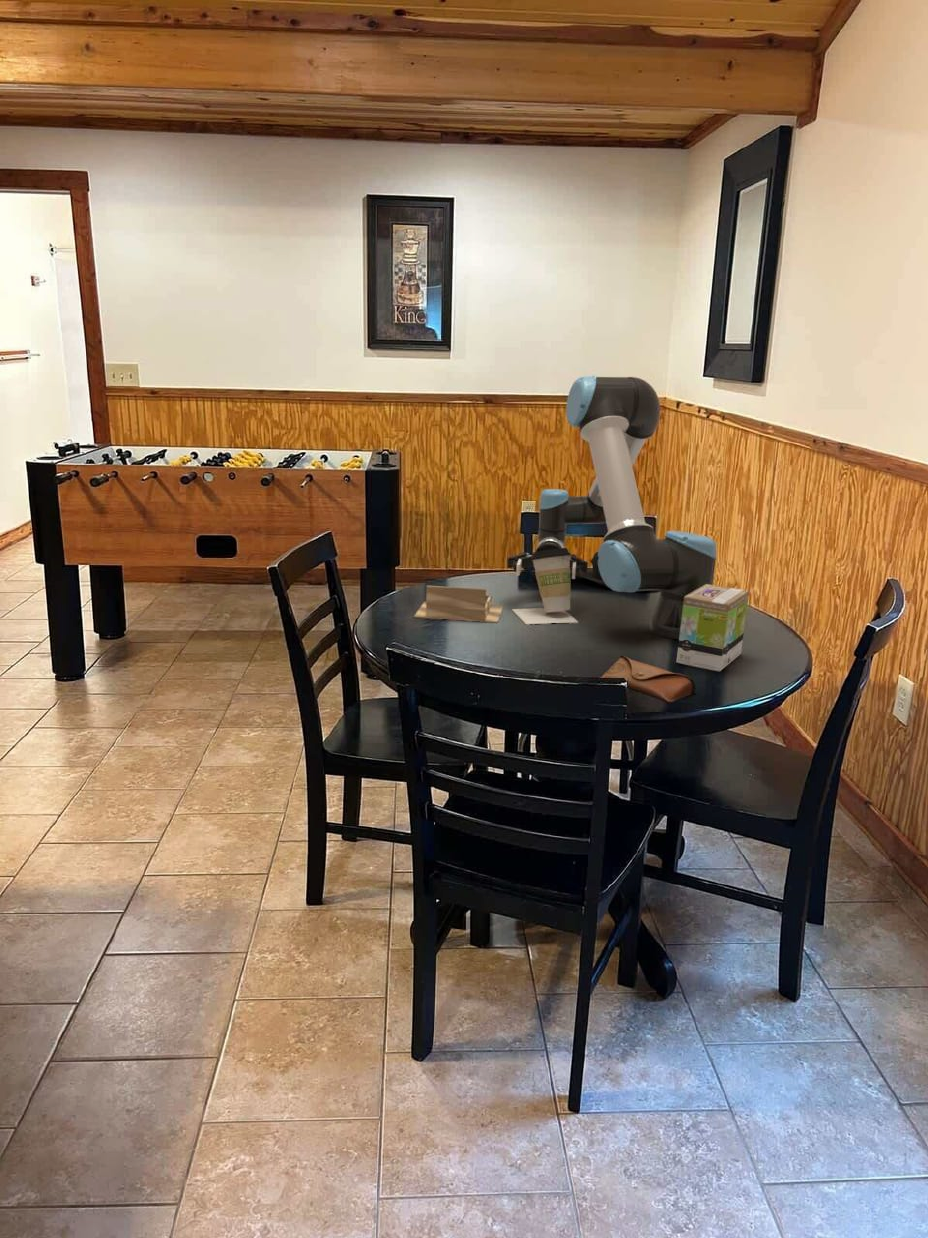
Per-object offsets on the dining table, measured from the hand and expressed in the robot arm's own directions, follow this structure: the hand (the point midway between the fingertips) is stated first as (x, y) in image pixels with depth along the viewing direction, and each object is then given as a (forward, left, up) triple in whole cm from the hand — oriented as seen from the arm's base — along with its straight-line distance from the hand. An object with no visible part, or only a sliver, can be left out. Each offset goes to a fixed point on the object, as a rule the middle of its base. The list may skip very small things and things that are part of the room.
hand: (545, 571), depth 225 cm
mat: (-2, 0, -11) cm, 11 cm away
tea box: (-38, -26, -11) cm, 47 cm away
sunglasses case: (-52, -5, -11) cm, 54 cm away
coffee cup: (-2, -3, -10) cm, 10 cm away
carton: (+5, +20, -11) cm, 23 cm away
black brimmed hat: (+28, -31, -11) cm, 43 cm away
